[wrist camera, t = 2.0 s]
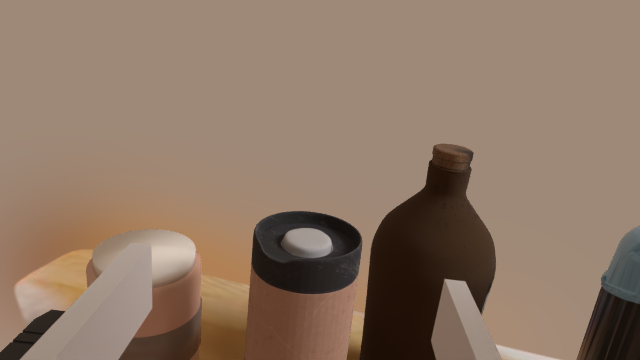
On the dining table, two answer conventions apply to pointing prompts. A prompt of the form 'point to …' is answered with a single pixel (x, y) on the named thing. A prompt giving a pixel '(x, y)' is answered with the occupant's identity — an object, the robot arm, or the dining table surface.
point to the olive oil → (425, 260)
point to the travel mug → (302, 287)
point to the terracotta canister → (161, 294)
